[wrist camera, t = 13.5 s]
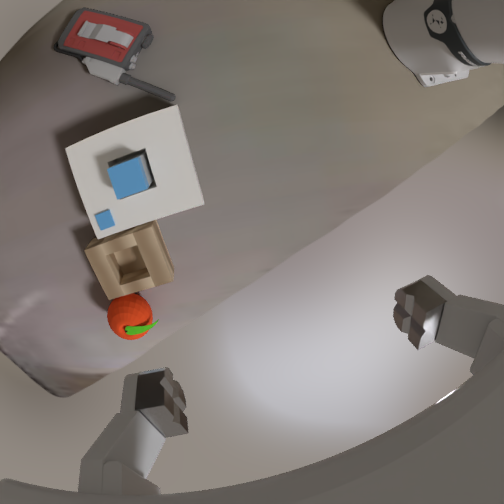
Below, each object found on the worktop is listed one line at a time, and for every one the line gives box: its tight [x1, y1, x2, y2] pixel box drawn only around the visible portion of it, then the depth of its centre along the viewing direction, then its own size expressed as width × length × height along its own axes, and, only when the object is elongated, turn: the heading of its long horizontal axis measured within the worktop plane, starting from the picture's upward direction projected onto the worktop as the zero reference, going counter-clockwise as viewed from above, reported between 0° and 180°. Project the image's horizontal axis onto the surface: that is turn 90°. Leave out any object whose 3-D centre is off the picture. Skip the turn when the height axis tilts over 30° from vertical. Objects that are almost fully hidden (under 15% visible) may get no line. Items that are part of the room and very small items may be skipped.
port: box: [65, 105, 204, 239], centre depth 32 cm, size 14×12×5 cm
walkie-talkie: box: [54, 8, 175, 101], centre depth 25 cm, size 9×4×20 cm
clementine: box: [107, 293, 159, 340], centre depth 39 cm, size 8×7×7 cm
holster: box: [84, 220, 174, 300], centre depth 37 cm, size 10×8×4 cm
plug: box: [107, 152, 154, 200], centre depth 30 cm, size 4×4×7 cm
